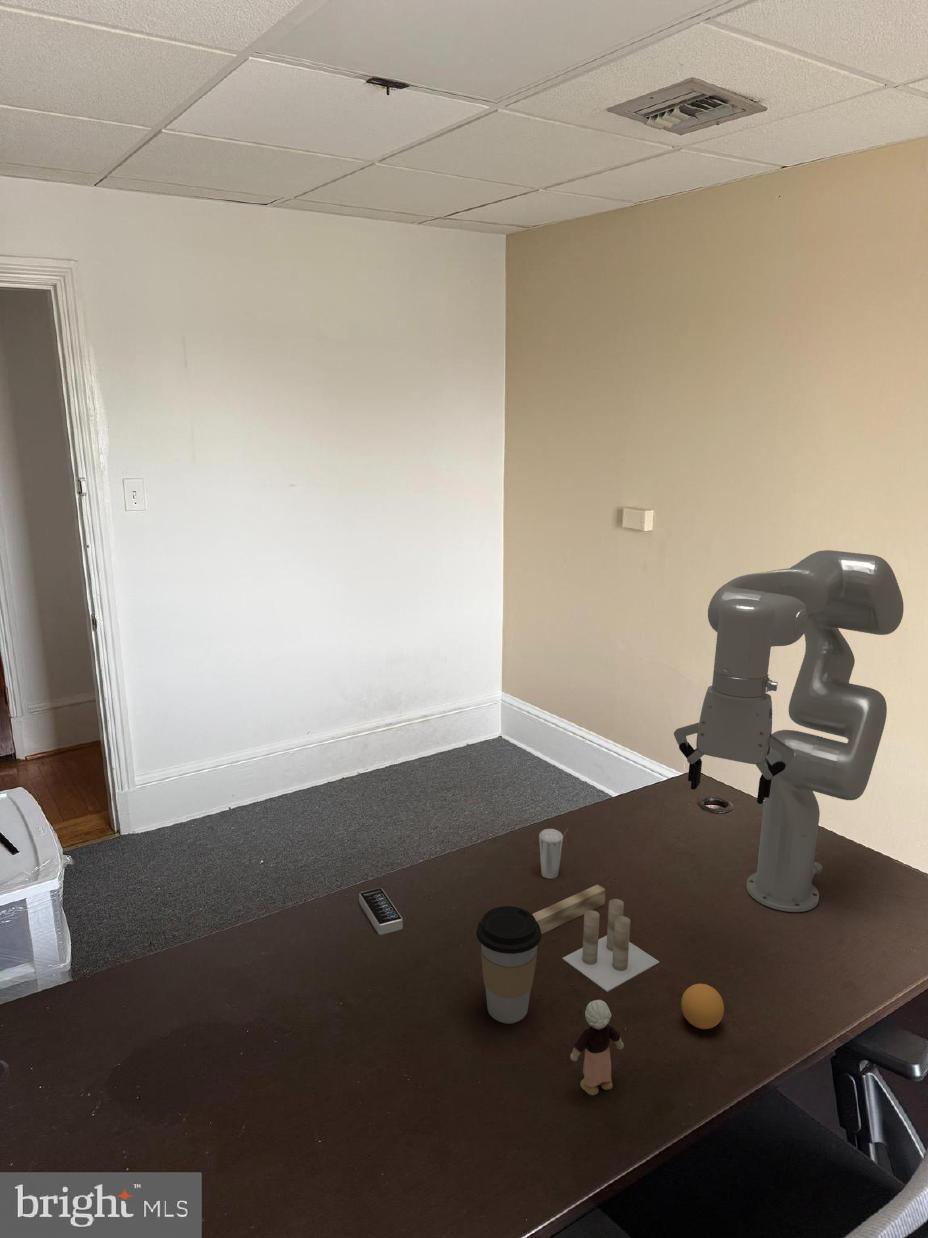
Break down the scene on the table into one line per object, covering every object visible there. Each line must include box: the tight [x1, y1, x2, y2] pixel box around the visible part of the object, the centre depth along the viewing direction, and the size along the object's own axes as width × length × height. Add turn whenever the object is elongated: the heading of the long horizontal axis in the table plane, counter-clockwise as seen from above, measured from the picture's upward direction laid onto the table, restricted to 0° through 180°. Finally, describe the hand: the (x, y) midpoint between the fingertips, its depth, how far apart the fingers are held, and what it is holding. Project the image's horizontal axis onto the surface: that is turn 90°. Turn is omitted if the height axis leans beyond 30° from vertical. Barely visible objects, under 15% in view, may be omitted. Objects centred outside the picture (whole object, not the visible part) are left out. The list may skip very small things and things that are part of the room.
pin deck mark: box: [562, 935, 660, 993], centre depth 139 cm, size 12×10×1 cm
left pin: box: [582, 910, 600, 965], centre depth 138 cm, size 2×2×8 cm
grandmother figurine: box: [569, 999, 625, 1096], centre depth 112 cm, size 8×4×13 cm, turn 123°
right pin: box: [606, 898, 625, 952], centre depth 141 cm, size 2×2×8 cm
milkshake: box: [538, 828, 568, 880], centre depth 163 cm, size 4×5×10 cm
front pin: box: [612, 915, 631, 971], centre depth 136 cm, size 2×2×8 cm
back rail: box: [531, 884, 606, 935], centre depth 149 cm, size 22×2×3 cm, turn 127°
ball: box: [680, 983, 725, 1030], centre depth 124 cm, size 6×6×6 cm
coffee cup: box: [475, 905, 542, 1025], centre depth 126 cm, size 9×9×15 cm
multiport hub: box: [358, 887, 404, 936], centre depth 151 cm, size 4×11×2 cm, turn 25°
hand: (727, 793), depth 128 cm, fingers open, 9 cm apart
